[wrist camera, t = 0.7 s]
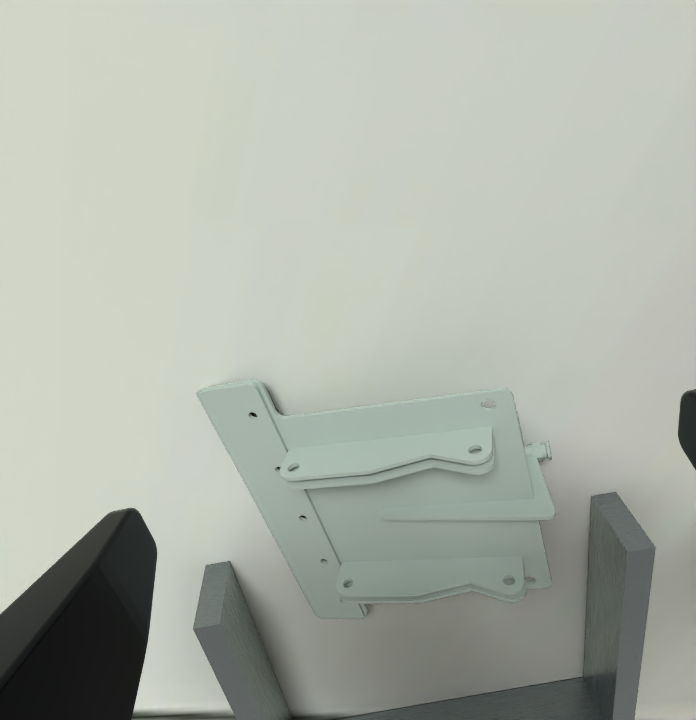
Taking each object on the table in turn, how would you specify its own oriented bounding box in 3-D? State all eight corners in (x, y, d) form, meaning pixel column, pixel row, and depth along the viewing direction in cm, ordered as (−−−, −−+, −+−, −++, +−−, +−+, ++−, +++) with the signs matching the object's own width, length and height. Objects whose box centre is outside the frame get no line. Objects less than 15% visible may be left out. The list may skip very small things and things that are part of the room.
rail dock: (615, 492, 27) (663, 558, 24) (602, 685, 35) (636, 757, 31) (205, 565, 28) (190, 641, 24) (280, 740, 35) (277, 817, 32)
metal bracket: (530, 367, 17) (583, 653, 24) (521, 286, 22) (567, 544, 29) (150, 421, 22) (286, 647, 29) (210, 345, 27) (314, 554, 34)
